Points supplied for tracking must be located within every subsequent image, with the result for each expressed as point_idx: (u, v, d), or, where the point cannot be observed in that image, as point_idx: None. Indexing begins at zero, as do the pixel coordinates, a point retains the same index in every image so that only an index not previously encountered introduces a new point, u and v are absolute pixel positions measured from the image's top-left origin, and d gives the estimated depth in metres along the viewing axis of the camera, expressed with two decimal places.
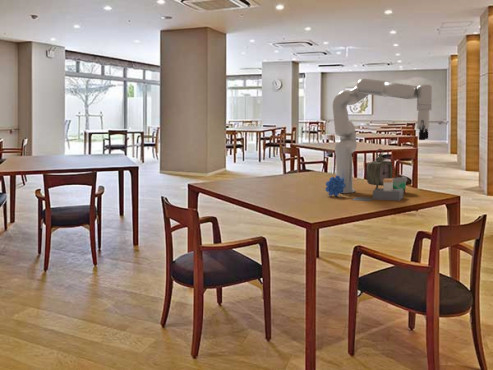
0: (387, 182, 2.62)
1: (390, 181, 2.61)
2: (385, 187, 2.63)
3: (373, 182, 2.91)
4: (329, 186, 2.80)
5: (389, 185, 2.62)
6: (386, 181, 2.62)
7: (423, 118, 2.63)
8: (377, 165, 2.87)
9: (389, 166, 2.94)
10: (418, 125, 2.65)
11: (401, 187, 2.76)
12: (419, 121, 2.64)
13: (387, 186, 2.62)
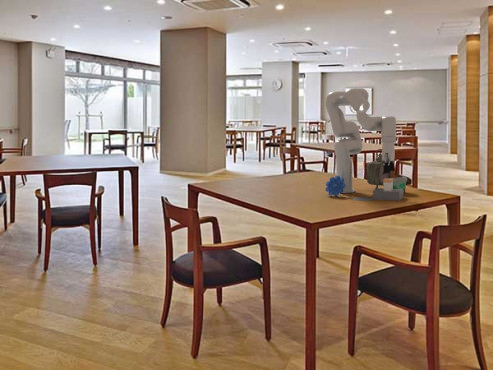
0: (387, 182, 2.62)
1: (390, 181, 2.61)
2: (385, 187, 2.63)
3: (373, 182, 2.91)
4: (329, 186, 2.80)
5: (389, 185, 2.62)
6: (386, 181, 2.62)
7: (387, 151, 2.57)
8: (377, 165, 2.87)
9: None
10: (382, 158, 2.58)
11: (401, 187, 2.76)
12: (383, 154, 2.58)
13: (387, 186, 2.62)
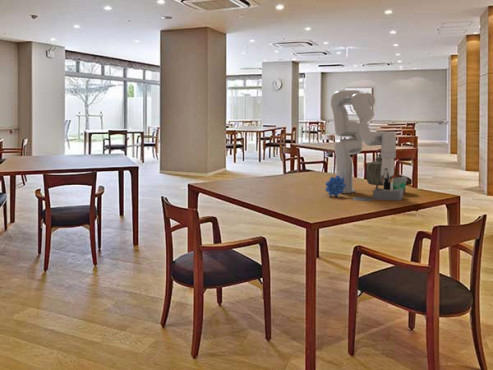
0: None
1: (390, 181, 2.61)
2: None
3: (373, 182, 2.91)
4: (329, 186, 2.80)
5: None
6: None
7: (387, 166, 2.58)
8: (377, 165, 2.87)
9: None
10: (382, 173, 2.60)
11: (401, 187, 2.76)
12: (383, 169, 2.59)
13: None
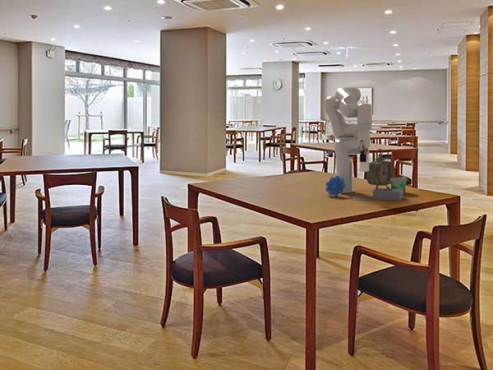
0: None
1: (366, 153, 2.60)
2: None
3: (373, 182, 2.91)
4: (329, 186, 2.80)
5: None
6: None
7: (362, 138, 2.56)
8: (377, 165, 2.87)
9: (389, 166, 2.94)
10: (358, 145, 2.58)
11: (401, 187, 2.76)
12: (359, 141, 2.57)
13: None
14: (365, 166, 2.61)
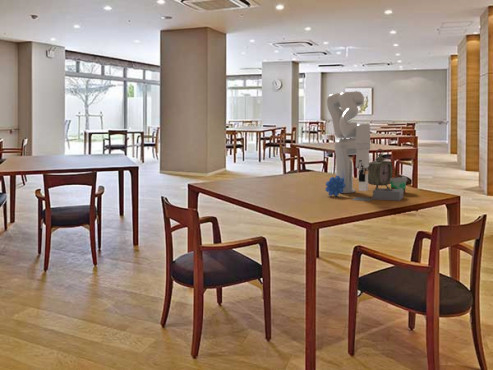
0: None
1: (365, 173, 2.61)
2: None
3: (373, 182, 2.91)
4: (329, 186, 2.80)
5: None
6: None
7: (361, 158, 2.58)
8: (377, 165, 2.87)
9: (389, 166, 2.94)
10: (356, 165, 2.59)
11: (401, 187, 2.76)
12: (357, 161, 2.59)
13: None
14: (364, 186, 2.62)
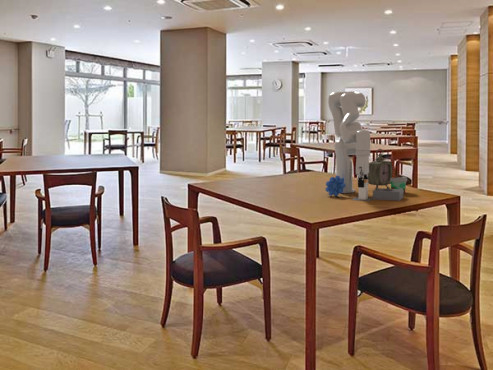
0: None
1: (365, 182, 2.62)
2: (360, 188, 2.63)
3: (373, 182, 2.91)
4: (329, 186, 2.80)
5: (364, 186, 2.62)
6: None
7: (361, 164, 2.58)
8: (377, 165, 2.87)
9: (389, 166, 2.94)
10: (356, 171, 2.60)
11: (401, 187, 2.76)
12: (357, 167, 2.60)
13: None
14: (364, 194, 2.63)
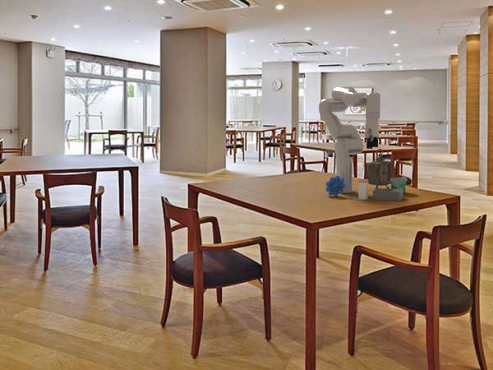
0: (362, 183, 2.63)
1: (365, 182, 2.62)
2: (360, 188, 2.63)
3: (373, 182, 2.91)
4: (329, 186, 2.80)
5: (364, 186, 2.62)
6: (361, 182, 2.63)
7: (370, 127, 2.60)
8: (377, 165, 2.87)
9: (389, 166, 2.94)
10: (366, 134, 2.61)
11: (401, 187, 2.76)
12: (366, 130, 2.61)
13: (362, 187, 2.63)
14: (364, 194, 2.63)
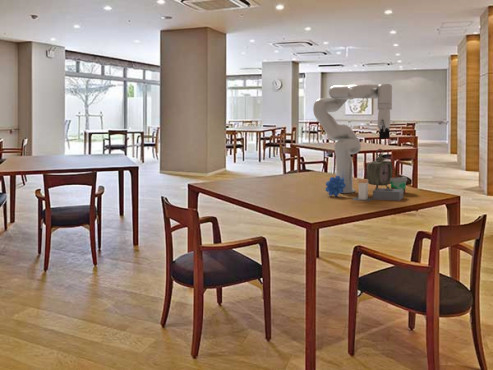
0: (362, 183, 2.63)
1: (365, 182, 2.62)
2: (360, 188, 2.63)
3: (373, 182, 2.91)
4: (329, 186, 2.80)
5: (364, 186, 2.62)
6: (361, 182, 2.63)
7: (383, 117, 2.63)
8: (377, 165, 2.87)
9: (389, 166, 2.94)
10: (378, 124, 2.65)
11: (401, 187, 2.76)
12: (379, 120, 2.64)
13: (362, 187, 2.63)
14: (364, 194, 2.63)
